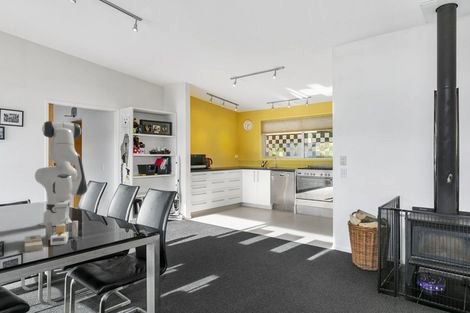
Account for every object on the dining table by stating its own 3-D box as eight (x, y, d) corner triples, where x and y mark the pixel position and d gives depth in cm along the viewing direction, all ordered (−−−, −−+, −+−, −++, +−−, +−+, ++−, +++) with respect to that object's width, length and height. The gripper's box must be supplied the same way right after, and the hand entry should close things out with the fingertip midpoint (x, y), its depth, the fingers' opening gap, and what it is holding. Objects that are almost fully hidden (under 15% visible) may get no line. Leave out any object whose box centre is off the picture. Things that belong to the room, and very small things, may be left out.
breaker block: (54, 239, 169) (54, 232, 169) (68, 238, 171) (68, 231, 171) (50, 245, 158) (50, 237, 158) (65, 244, 160) (65, 236, 160)
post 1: (46, 238, 170) (46, 222, 170) (52, 238, 171) (52, 222, 171) (45, 240, 167) (45, 223, 168) (51, 239, 169) (51, 223, 169)
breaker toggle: (56, 232, 168) (56, 224, 168) (65, 231, 169) (65, 223, 169) (56, 233, 165) (56, 224, 165) (64, 232, 167) (64, 224, 167)
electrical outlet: (25, 244, 146) (24, 236, 161) (24, 252, 146) (24, 244, 161) (42, 242, 150) (40, 234, 165) (42, 250, 150) (40, 242, 165)
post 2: (72, 236, 175) (72, 221, 175) (78, 236, 176) (78, 220, 176) (71, 237, 172) (71, 222, 173) (77, 237, 174) (77, 221, 174)
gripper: (59, 200, 185) (59, 223, 185) (54, 205, 166) (54, 230, 166) (71, 199, 187) (71, 222, 187) (67, 204, 168) (67, 229, 168)
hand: (63, 226), depth 176 cm, fingers open, 8 cm apart
